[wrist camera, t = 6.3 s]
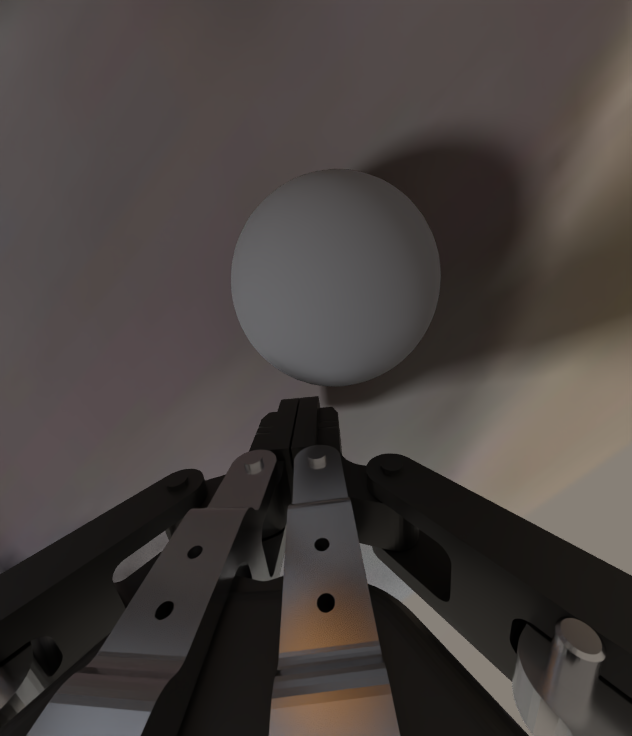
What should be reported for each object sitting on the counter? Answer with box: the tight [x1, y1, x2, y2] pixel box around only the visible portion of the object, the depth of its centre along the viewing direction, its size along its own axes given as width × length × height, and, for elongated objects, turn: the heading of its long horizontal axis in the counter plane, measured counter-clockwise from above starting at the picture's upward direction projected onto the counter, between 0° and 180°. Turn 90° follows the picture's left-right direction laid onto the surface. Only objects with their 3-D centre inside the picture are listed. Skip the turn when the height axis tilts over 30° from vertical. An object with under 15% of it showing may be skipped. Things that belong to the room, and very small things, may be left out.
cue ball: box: [231, 169, 441, 386], centre depth 9 cm, size 6×6×6 cm
